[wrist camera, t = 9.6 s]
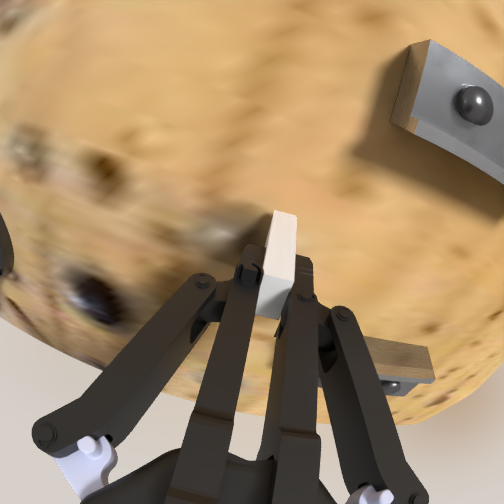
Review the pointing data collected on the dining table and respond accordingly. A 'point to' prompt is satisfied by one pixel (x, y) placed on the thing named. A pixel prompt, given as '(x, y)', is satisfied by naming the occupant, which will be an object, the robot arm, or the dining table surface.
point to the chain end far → (399, 365)
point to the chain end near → (452, 106)
